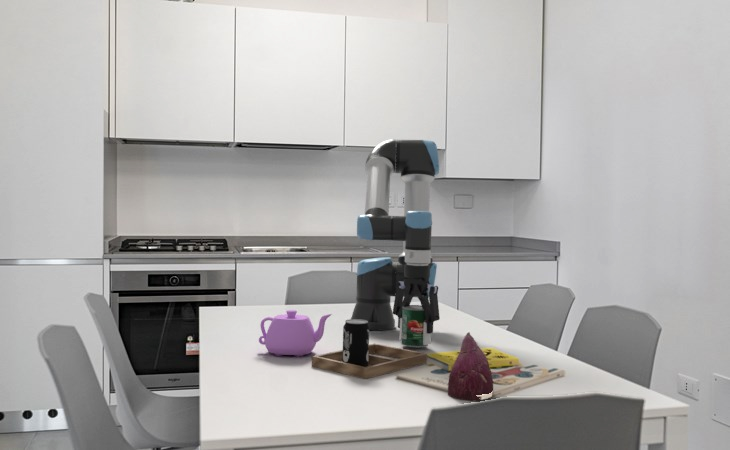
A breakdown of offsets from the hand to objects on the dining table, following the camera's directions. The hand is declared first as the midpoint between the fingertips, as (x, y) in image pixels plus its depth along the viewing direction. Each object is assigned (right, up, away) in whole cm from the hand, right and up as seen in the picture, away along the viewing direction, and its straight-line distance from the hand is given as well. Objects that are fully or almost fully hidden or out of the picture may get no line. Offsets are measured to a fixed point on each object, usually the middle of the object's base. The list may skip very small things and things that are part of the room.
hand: (414, 341), depth 208 cm
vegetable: (+9, -4, -50) cm, 51 cm away
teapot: (-34, -1, -12) cm, 36 cm away
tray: (-13, -2, -23) cm, 27 cm away
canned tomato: (0, -1, 0) cm, 1 cm away
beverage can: (-17, -2, -28) cm, 33 cm away
